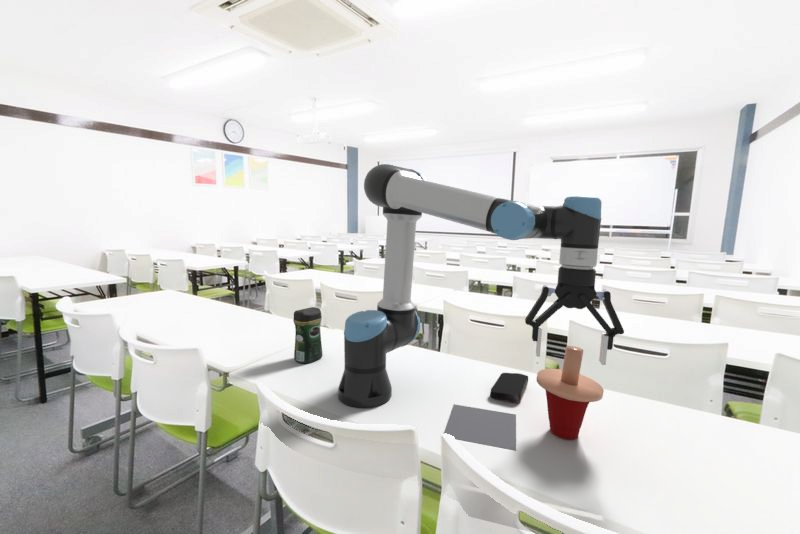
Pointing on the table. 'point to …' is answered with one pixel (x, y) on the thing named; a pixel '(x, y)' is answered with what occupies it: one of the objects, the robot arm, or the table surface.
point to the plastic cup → (565, 416)
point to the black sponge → (509, 387)
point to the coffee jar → (307, 335)
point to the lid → (570, 379)
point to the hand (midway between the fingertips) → (569, 358)
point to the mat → (482, 426)
